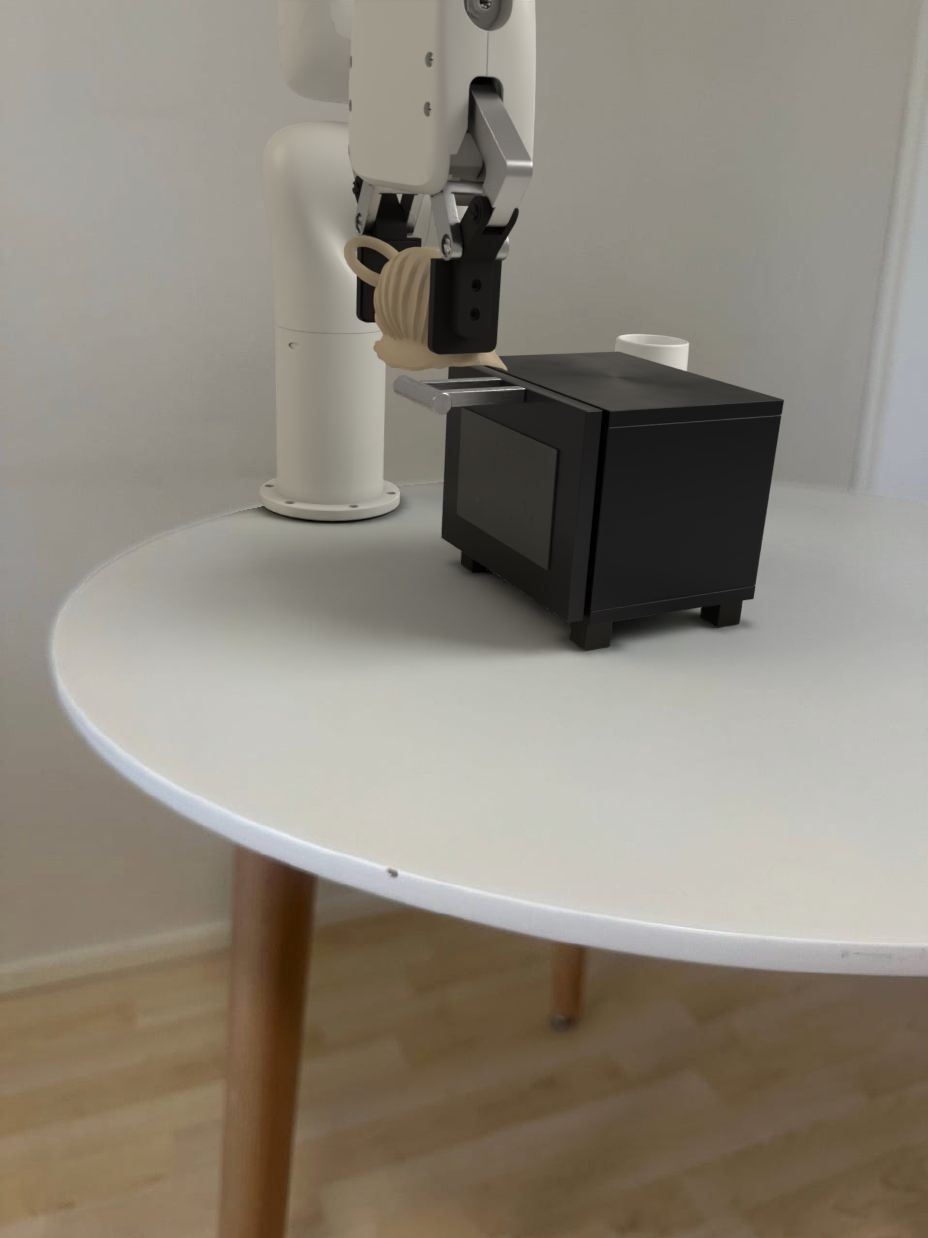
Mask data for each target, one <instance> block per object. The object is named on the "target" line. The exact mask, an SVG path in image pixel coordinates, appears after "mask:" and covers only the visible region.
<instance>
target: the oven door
mask: <svg viewBox="0 0 928 1238" xmlns="http://www.w3.org/2000/svg"><path fill="white" fill-rule="evenodd" d="M447 368H448V369H447V370H448V371H447V378H443V379H423V380H421V379H420V380H418V379H415V378H413V377H410V376H408V375H405V374H401V375H399V376H397V377H396V378H395V379H394V381H393V384H392V389H393V392H394V394H395V395H397V396H398V397H401V398H402V399H404V400H407V401H408V402H410V403H412V404H414V405H417V406H418V407H421V408H424V409H425V410H428V411H429V412H432V413H434V414H436V415H438V416H443V415H446V418H445V419H446V420H445V439H444V462H443V463H444V465H443V466H444V467H443V486H442V487H443V488H442V512H441V531H440V532H441V534H440V538H441V539H442V540H444V541H445V542H447V543H448V544H450V545H451V546H453V547H454V548H456V549H457V550H458V551H460V552H461V551H462V552H463V553H465V554H466V555H468V556H469V557H471V558H472V559H474V560H475V561H477V562H478V563H480V564H481V565H483V566H484V567H486V568H487V569H489V570H488V571H490V572H491V573H493V574H495V575H496V576H497V577H499V578H500V579H502V581H503V580H504V581H505V582H506V583H507V584H509V585H511V586H512V587H514V588H516V589H517V590H519V591H520V592H521V593H523V594H524V595H526V596H527V597H529V598H530V599H531V600H533V601H535V602H536V603H537V604H539V605H541V606H542V607H544V608H545V609H547V611H550V612H551V613H552V614H554V615H555V616H557V617H559V618H560V619H561V620H563V621H564V622H566V623H568V624H569V623H571V622H576V621H582V620H583V615H584V605H585V594H586V583H587V573H588V562H589V551H590V541H591V530H592V519H593V509H594V498H595V487H596V477H597V466H598V455H599V445H600V434H601V423H602V413H603V411H602V410H600V409H598V408H595V407H592V406H590V405H587V404H584V403H582V402H579V401H576V400H573V399H571V398H568V397H565V396H563V395H560V394H557V393H555V392H552V391H549V390H547V389H544V388H541V387H539V386H536V385H533V384H531V383H528V382H525V381H522V380H520V379H517V378H514V377H512V376H509V375H506V374H504V373H501V372H498V371H496V370H493V369H490V368H488V367H485V366H482V365H472V366H464V367H457V366H451V367H447Z"/></svg>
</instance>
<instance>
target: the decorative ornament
mask: <svg viewBox="0 0 928 1238" xmlns="http://www.w3.org/2000/svg"><path fill="white" fill-rule="evenodd" d="M363 246H364V247H369V248H372V249H375V250H376V251H378V252H380V253H381V254H383V255H384V256H385V257H386V258H388V259H389V260H390V261H389V262H387V263H386V264H385V265H384V267H383V269H382V271H381V274H378V273H375V272H373V271H371V270H369V269H368V268H366V267H365V266H364V265H363V264H361V263H360V262H359V260H358V259H357V258H356V257H357V255H356V256H355V254H354V250H355V248H357V247H363ZM344 257H345V260H346V262H347V264H348V266H349V267H350V268H351V270H352V271H353V272H354V273H355V274H356V275H357V276H358V277H359V278H360V279H362V280H363V281H365V282H366V283H368V284H370V285H372V286H374V287H376V288H375V291H374V308H375V312H376V313H375V322H376V324H377V325H378V327H379V329H380V330H381V332H382V333H383V335H382V338H381V340H379V341H376V342H375V345H374V347H373V349H374V351H375V352H376V353H377V356H378V358H379V359H380V360H382V361H384V362H385V364H386V367H388V368H391V369H401V370H403V371H409V372H418V371H419V372H420V371H424V370H425V371H426V370H429V369H435V370H436V369H437V370H443V369H447V368H448V367H451V366H457V367H464V366H472V365H490V366H494V367H498V368H502V369H504V370H506V371H507V367H506V366H505V365H504V363H503V362H502V361H501V359H500V358H499V357H498V356H499V355H498V354H497V353H496V348H495V349H494V350H493V351H492V352H489V353H468V354H445V355H439V354H436V353H433V352H431V351H430V350H429V349H428V345H427V340H428V315H429V289H430V264H431V258H442V256H441V253H440V250H439V249H431V248H426V247H412V248H407V249H405V250H403V251H401V252H398V251H397V250H395V249H394V248H393V247H392V246H390V245H389V244H387V243H385V242H383V241H381V240H379V239H377V238H374V237H370V236H355V237H353V238H351V239H350V240H348V241H347V242H346V244H345V246H344Z"/></svg>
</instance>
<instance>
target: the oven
mask: <svg viewBox="0 0 928 1238" xmlns="http://www.w3.org/2000/svg"><path fill="white" fill-rule="evenodd" d="M498 357H499V358H500V359H501V361H502V362H503V363H504V365H505V366H506V367H507V371H506V370H504V369H502V368H498V367H494V366H490V365H482V366H485V367H488V368H490V369H493V370H496V371H498V372H501V373H504V374H506V375H509V376H512V377H514V378H517V379H520V380H522V381H525V382H528V383H531V384H533V385H536V386H539V387H541V388H544V389H547V390H549V391H552V392H555V393H557V394H560V395H563V396H565V397H568V398H571V399H573V400H576V401H579V402H582V403H584V404H587V405H590V406H592V407H595V408H598V409H600V410H602V411H603V413H602V423H601V434H600V445H599V455H598V466H597V477H596V487H595V498H594V509H593V519H592V530H591V541H590V551H589V562H588V573H587V583H586V594H585V605H584V615H583V620H582V621H576V622H570V628H569V638H568V639H569V641H571V642H572V643H573V644H575V645H576V646H578V647H579V648H581V649H582V650H584V651H591V650H597V649H602V648H607V647H608V648H609V647H610V646H611V640H612V632H613V624H614V622H621V621H626V620H627V621H628V620H633V619H634V620H635V619H638V618H644V617H651V616H657V615H663V614H670V613H676V612H681V611H682V612H683V611H688V610H694V609H700V614H699V618H700V619H701V620H703V621H704V622H707V623H708V624H710V625H712V626H714V627H715V628H719V629H720V628H723V627H729V626H736V625H740V623H741V616H742V611H743V603H744V601H750V600H754V599H755V592H756V584H757V578H758V573H759V566H760V559H761V553H762V545H763V541H764V540H763V539H764V532H765V526H766V520H767V514H768V507H769V501H770V500H769V499H770V492H771V486H772V481H773V474H774V469H775V461H776V453H777V448H778V440H779V434H780V429H781V428H780V427H781V420H782V415H783V409H784V404H785V399H783V398H780V397H777V396H773V395H769V394H765V393H762V392H759V391H756V390H753V389H749V388H746V387H743V386H739V385H736V384H731V383H728V382H725V381H721V380H718V379H715V378H711V377H707V376H704V375H700V374H697V373H694V372H690V371H688V370H687V371H684V370H681V369H677V368H674V367H670V366H667V365H663V364H660V363H657V362H653V361H650V360H646V359H643V358H639V357H636V356H633V355H629V354H626V353H622V352H614V351H602V352H601V351H596V352H571V353H547V354H544V353H542V354H540V353H539V354H515V355H498ZM460 565H461V566H462V567H464V568H465V569H467V570H468V571H470V572H471V573H476V572H484V571H485V572H487V571H490V570H489V569H487V568H486V567H484V566H483V565H481V564H480V563H478V562H477V561H475V560H474V559H472V558H471V557H469V556H468V555H466V554H465V553H463V552H462V551H460Z"/></svg>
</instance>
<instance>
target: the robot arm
mask: <svg viewBox="0 0 928 1238" xmlns="http://www.w3.org/2000/svg"><path fill="white" fill-rule="evenodd" d="M276 13H277V15H276V17H277V22H276V23H277V43H278V46H277V47H278V55H279V64H280V65H279V66H280V69H281V73H282V77H283V79H284V81H285V84H286V85H287V86H288V87H289V89H290V90H291V91H292V92H293V93H295V94H297V95H298V96H300V97H303V98H304V99H305V98H306V99H308V100H314V101H318V102H324V103H335V104H346V105H347V106H348V113H347V114H348V116H347V118H348V119H347V121H336V120H335V121H332V120H310V121H303V122H296V123H293V124H289V125H286V126H284V127H282V128H281V129H278V130H277V131H276V132H275V133H274V134H272V135H271V136H270V137H269V139H268V141H267V142H266V144H265V145H264V146H265V147H264V149H263V152H262V155H261V161H260V162H261V164H260V168H261V169H260V177H261V188H262V189H261V190H262V195H263V201H264V202H263V203H264V207H265V214H266V221H267V228H268V234H269V241H270V243H269V244H270V251H271V262H272V263H271V264H272V282H273V283H272V284H273V305H274V306H273V310H274V311H273V313H274V317H273V318H274V320H273V321H274V361H275V362H274V364H275V366H274V367H275V369H274V370H275V372H274V373H275V432H276V433H275V434H276V435H275V437H276V441H275V442H276V444H275V445H276V446H275V447H276V477H273V478H271V479H268V480H267V481H266V482H264V483H263V484H262V485H260V488H259V493H258V494H259V495H258V496H259V497H258V498H259V499H258V500H259V502H260V504H261V505H262V506H263V507H264V508H266V509H267V510H269V511H271V512H273V513H276V514H278V515H281V516H285V517H289V518H294V519H301V520H311V521H321V522H322V521H325V522H338V521H339V522H340V521H341V522H342V521H343V522H345V521H356V520H364V519H370V518H375V517H379V516H383V515H386V514H388V513H391V512H392V511H394V510H395V509H396V508H397V507H398V506H399V505H400V502H401V491H400V489H399V488H398V486H397V485H396V484H394V483H393V482H391V481H388V480H386V479H384V467H385V465H384V461H385V460H384V459H385V419H386V418H385V417H386V377H387V376H386V370H387V365H386V364H385V362H384V361H382V360H380V359H379V358H378V356H377V353H376V352H375V351H374V349H373V347H374V345H375V342H376V341H379V340H381V338H382V335H383V333H382V332H381V330H380V329H379V327H378V325H377V324H376V322H375V313H376V312H375V308H374V291H375V288H376V287H374V286H372V285H370V284H368V283H366V282H365V281H363V280H362V279H360V278H359V277H358V276H357V275H356V274H355V273H354V272H353V271H352V270H351V268H350V267H349V266H348V264H347V262H346V260H345V257H344V246H345V244H346V242H347V241H348V240H350V239H351V238H353V237H355V236H370V237H374V238H377V239H379V240H381V241H383V242H385V243H387V244H389V245H390V246H392V247H393V248H394V249H395V250H397V251H398V252H401V251H403V250H405V249H407V248H412V247H426V248H431V249H436V250H439V251H440V253H441V256H442V258H431V264H430V289H429V315H428V340H427V345H428V349H429V350H430V351H431V352H433V353H436V354H439V355H445V354H468V353H489V352H492V351H493V350H494V349H495V350H496V348H497V346H498V345H497V344H498V331H499V330H498V329H499V317H500V316H499V314H500V299H501V287H502V286H501V284H502V271H503V270H502V267H503V261H505V260H506V259H507V258H508V255H509V252H510V240H509V239H510V238H509V235H510V234H511V232H512V230H513V228H514V227H515V225H516V223H517V220H518V218H519V213H520V209H519V207H520V205H521V202H522V200H523V198H524V196H525V193H526V191H527V189H528V186H529V184H530V183H531V180H532V177H533V174H534V164H533V161H534V147H535V145H534V144H535V141H534V140H535V122H536V121H535V119H536V117H535V116H536V87H537V86H536V85H537V84H536V83H537V80H536V79H537V19H536V17H537V16H536V0H276ZM354 254H355V256H356V258H357V259H358V260H359V262H360V263H361V264H363V265H364V266H365V267H366V268H368V269H369V270H371V271H373V272H375V273H378V274H381V271H382V269H383V267H384V265H385V264H386V263H387V262H389V261H390V260H389V259H388V258H386V257H385V256H384V255H383V254H381V253H380V252H378V251H376V250H375V249H372V248H369V247H364V246H363V247H357V248H355V250H354Z"/></svg>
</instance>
